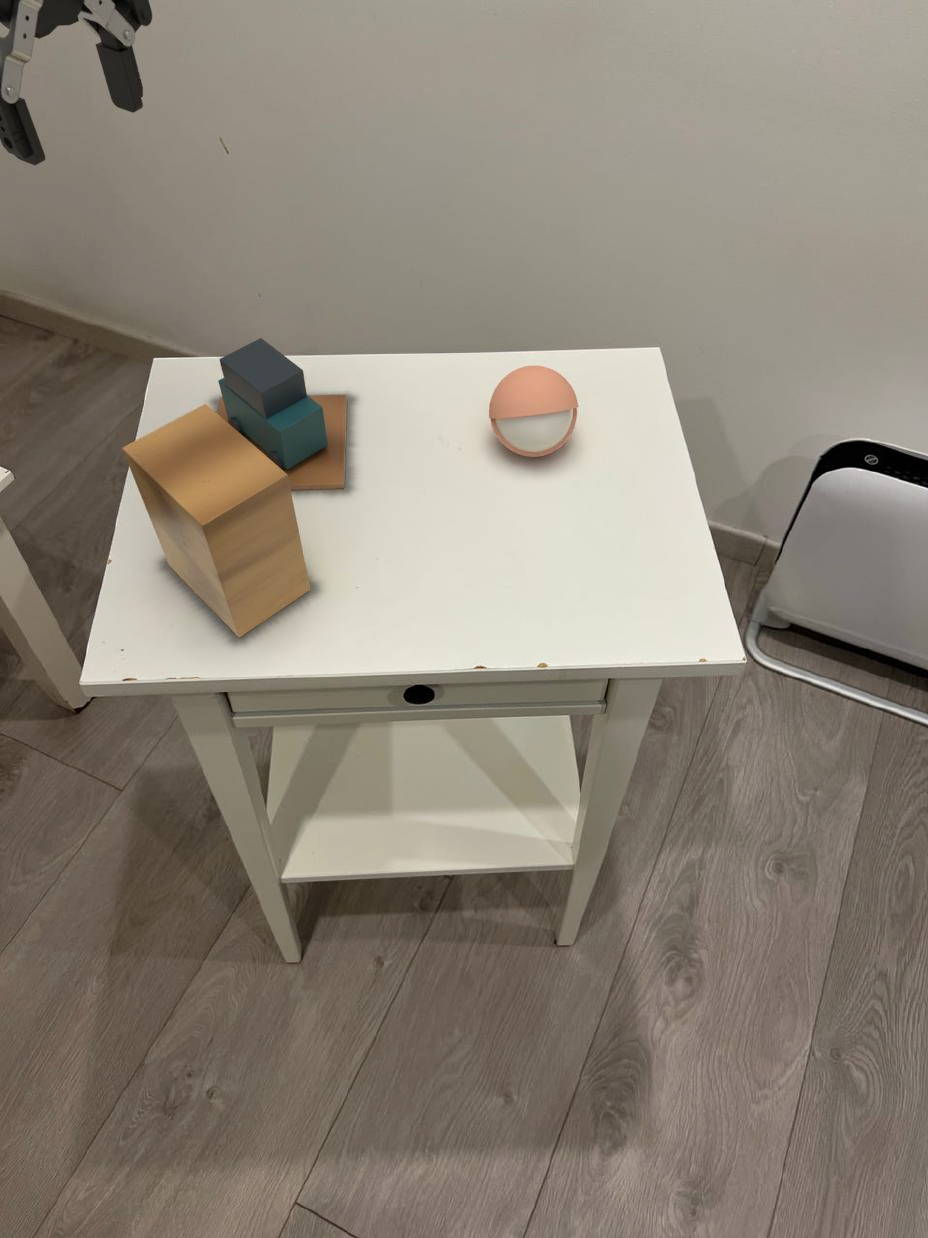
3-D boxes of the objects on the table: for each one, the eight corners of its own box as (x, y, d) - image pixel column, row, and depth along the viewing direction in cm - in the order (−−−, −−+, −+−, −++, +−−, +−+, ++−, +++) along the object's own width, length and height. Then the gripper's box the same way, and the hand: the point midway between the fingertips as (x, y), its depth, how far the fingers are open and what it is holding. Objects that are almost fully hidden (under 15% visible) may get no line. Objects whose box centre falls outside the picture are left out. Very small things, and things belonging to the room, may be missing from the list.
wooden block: (311, 589, 70) (288, 474, 60) (239, 638, 67) (201, 525, 57) (239, 522, 74) (205, 402, 64) (168, 565, 71) (121, 447, 61)
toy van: (225, 427, 80) (206, 355, 74) (273, 401, 83) (258, 329, 76) (284, 478, 77) (270, 407, 70) (332, 449, 79) (323, 378, 72)
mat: (344, 488, 77) (343, 483, 76) (207, 492, 76) (205, 487, 76) (346, 399, 84) (346, 394, 83) (221, 401, 83) (220, 397, 83)
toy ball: (496, 478, 78) (501, 409, 72) (479, 420, 82) (482, 351, 76) (581, 467, 79) (594, 399, 73) (560, 411, 83) (570, 342, 77)
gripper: (-99, -160, 38) (39, 197, 52) (130, -222, 46) (200, 105, 59) (-205, -188, 41) (-47, 162, 54) (29, -242, 48) (118, 78, 61)
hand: (82, 132), depth 56 cm, fingers open, 8 cm apart
